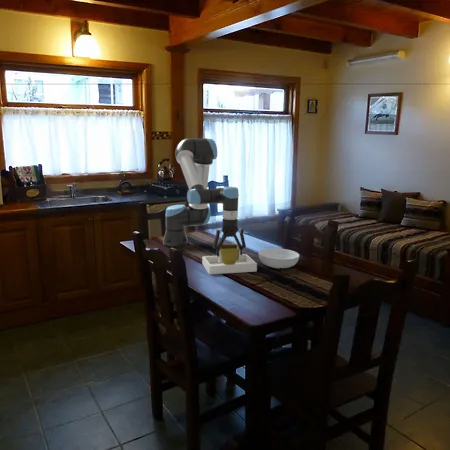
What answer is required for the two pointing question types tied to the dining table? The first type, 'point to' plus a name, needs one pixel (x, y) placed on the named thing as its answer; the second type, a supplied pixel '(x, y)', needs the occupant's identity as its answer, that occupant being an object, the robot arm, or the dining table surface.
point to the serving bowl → (278, 257)
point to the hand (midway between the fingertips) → (229, 261)
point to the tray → (220, 268)
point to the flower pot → (229, 253)
